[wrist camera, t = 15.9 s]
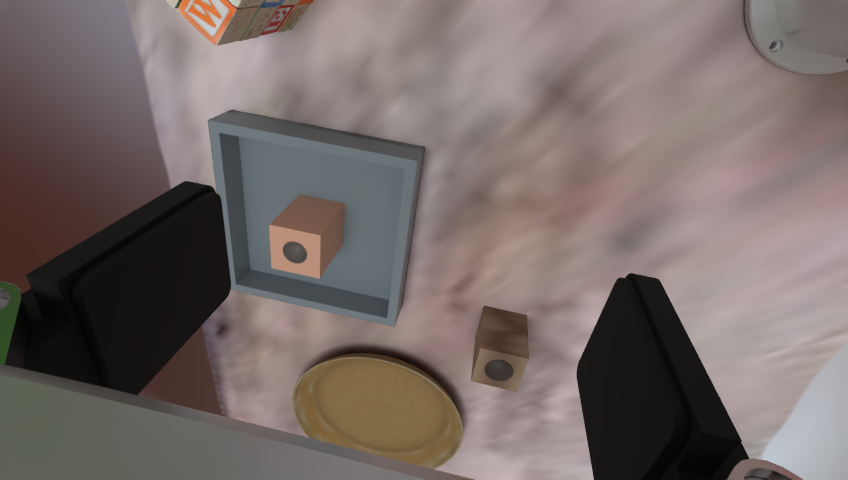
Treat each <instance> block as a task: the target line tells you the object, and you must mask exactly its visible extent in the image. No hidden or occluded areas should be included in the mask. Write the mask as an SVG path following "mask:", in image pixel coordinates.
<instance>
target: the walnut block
mask: <svg viewBox="0 0 848 480" xmlns="http://www.w3.org/2000/svg"><path fill="white" fill-rule="evenodd" d="M528 360H529V353H528V332H527V315H524V314H519V313H514V312H510V311H505V310H501V309H496V308H492V307H487V306H484V308H483V311H482V315H481V319H480V322H479V326H478V330H477V333H476V337H475V347H474V357H473V367H472V376H471V381H473V382H478V383H482V384H486V385H490V386H495V387H499V388H503V389H507V390H512V391H516V392H517V389H518V387H519V384H520V381H521V379H522V376H523V373H524V371H525V368H526V365H527V362H528Z"/></svg>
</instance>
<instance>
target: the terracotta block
mask: <svg viewBox="0 0 848 480" xmlns="http://www.w3.org/2000/svg"><path fill="white" fill-rule="evenodd" d="M344 218H345V203H341V202H336V201H331V200H326V199H321V198H316V197H312V196H307V195H302V194H300V195H299V196H298V197H297V198H296V199H295V200H294V201H293V202H292V203H291V204H290V205H289V206H288V207H286V208H285V209H284V210H283V211H282V212H281V213H280V214H279V215H278V216H277V217H276V218H275V219H274V220H273V221H272V222H271V223H270V224H269V233H270V250H271V268H273V269H278V270H282V271H287V272H291V273H296V274H300V275H305V276H309V277H314V278H319V279H320V278H321V276H322V275H323V273H324V272H325V270H326V269H327V267H328V266H329V264H330V263H331V261H332V260H333V258H334V257H335V255H336V254H337V252H338V250H339V249H340V247H341V246H342V244H343V240H344Z"/></svg>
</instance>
